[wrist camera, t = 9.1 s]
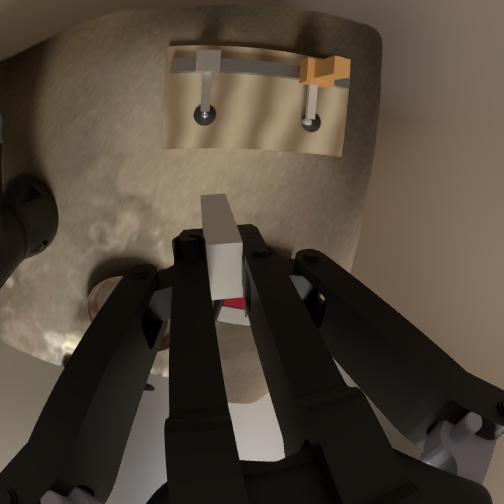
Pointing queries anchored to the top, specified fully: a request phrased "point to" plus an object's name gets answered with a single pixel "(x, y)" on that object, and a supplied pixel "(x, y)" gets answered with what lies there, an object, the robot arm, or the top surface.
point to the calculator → (231, 311)
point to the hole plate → (250, 108)
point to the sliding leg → (320, 78)
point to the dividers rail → (234, 71)
